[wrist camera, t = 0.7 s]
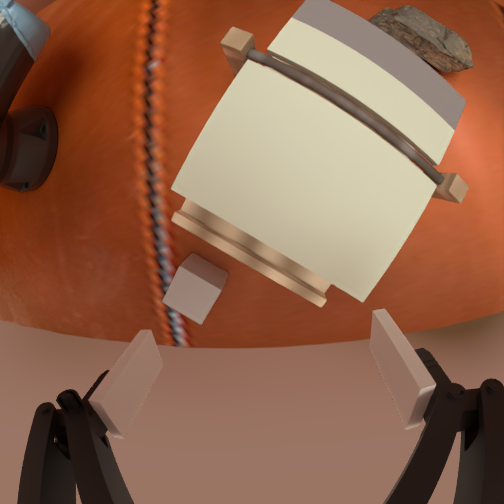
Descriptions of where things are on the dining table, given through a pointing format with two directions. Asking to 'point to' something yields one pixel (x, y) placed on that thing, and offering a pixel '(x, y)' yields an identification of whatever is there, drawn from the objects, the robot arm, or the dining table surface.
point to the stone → (195, 287)
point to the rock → (425, 38)
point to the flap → (325, 148)
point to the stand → (251, 249)
